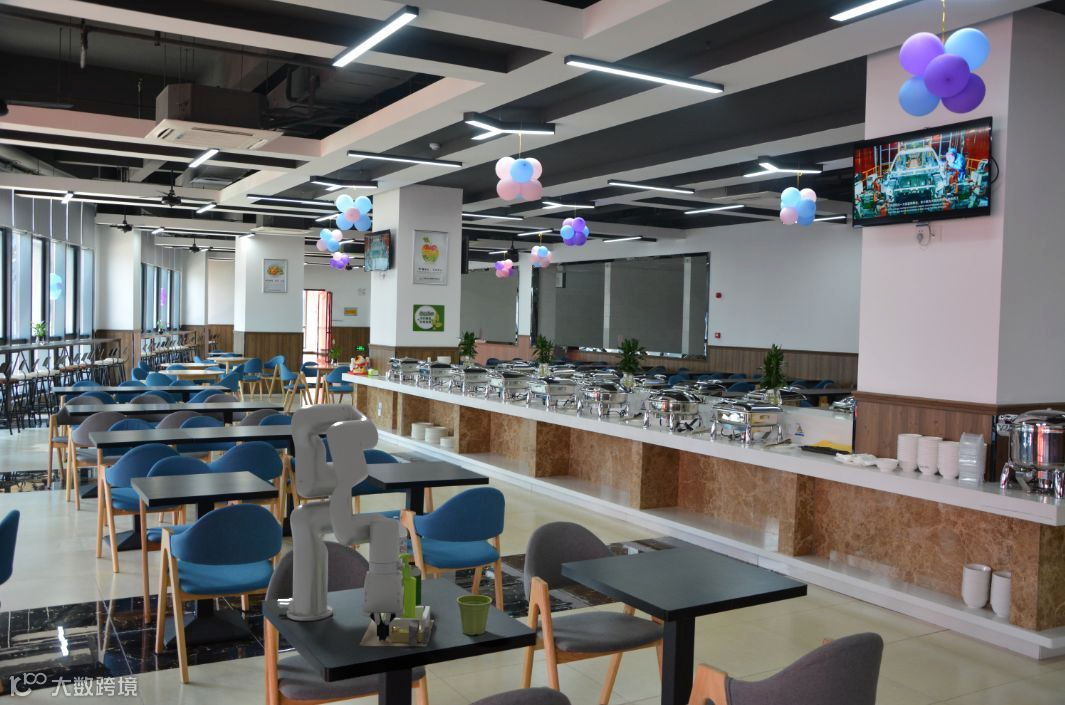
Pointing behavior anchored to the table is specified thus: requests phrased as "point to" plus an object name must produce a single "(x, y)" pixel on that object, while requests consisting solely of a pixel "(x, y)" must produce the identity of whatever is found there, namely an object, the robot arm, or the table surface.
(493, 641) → the table surface
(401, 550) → the water bottle
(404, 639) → the tan rectangular block
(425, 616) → the dock
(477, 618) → the plant pot
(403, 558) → the soap dispenser
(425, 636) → the base board
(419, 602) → the soda can
